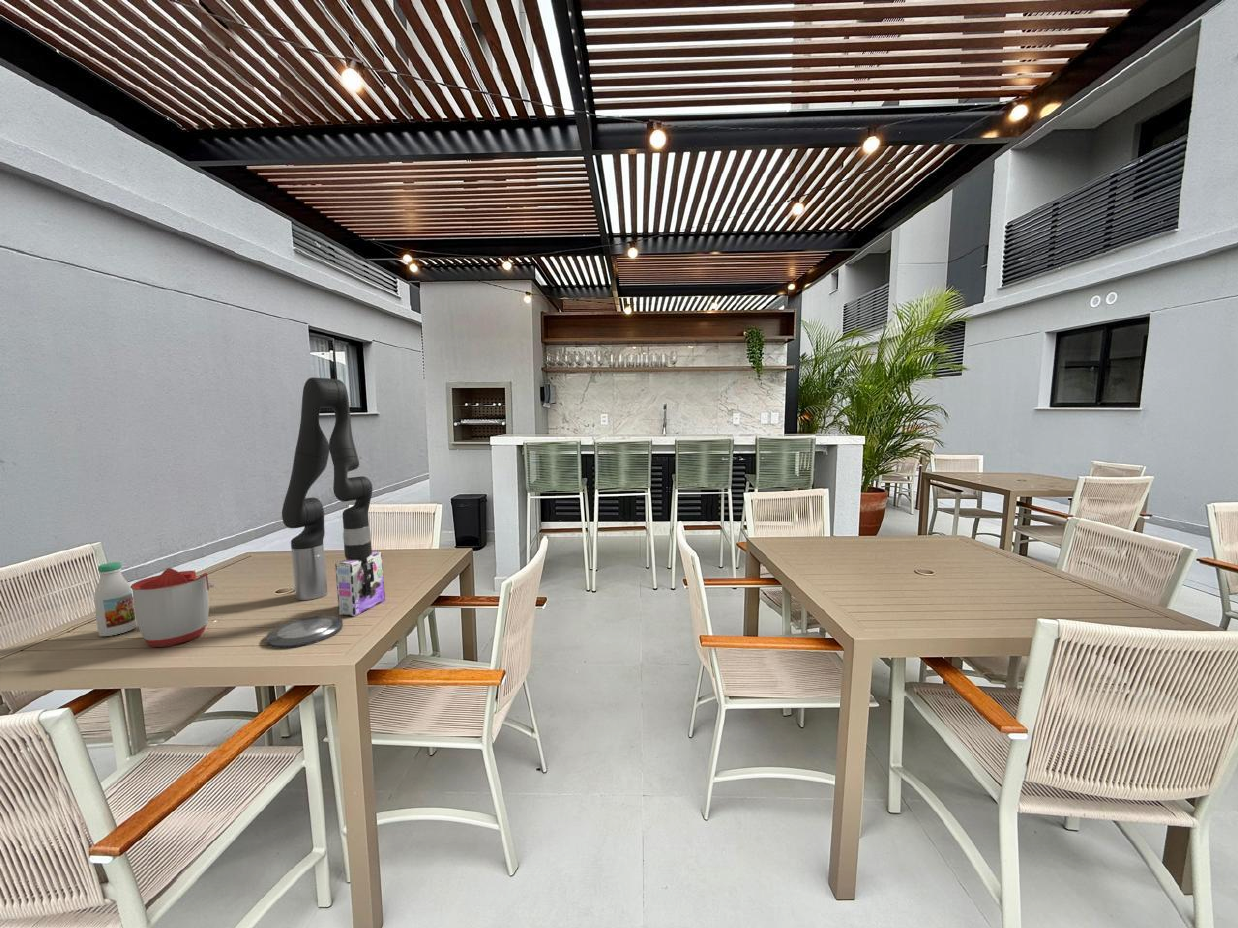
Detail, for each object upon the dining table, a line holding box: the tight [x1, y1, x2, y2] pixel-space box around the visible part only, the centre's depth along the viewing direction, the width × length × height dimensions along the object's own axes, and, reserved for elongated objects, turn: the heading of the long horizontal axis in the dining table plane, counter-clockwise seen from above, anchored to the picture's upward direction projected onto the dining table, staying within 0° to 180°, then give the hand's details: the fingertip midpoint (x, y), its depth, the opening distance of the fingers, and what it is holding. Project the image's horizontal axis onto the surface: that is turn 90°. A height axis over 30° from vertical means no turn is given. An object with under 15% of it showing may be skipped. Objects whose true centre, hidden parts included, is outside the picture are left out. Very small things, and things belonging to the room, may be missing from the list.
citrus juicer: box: [130, 567, 215, 648], centre depth 139 cm, size 16×17×20 cm
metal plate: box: [265, 615, 344, 649], centre depth 140 cm, size 18×18×2 cm
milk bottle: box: [93, 562, 137, 637], centre depth 143 cm, size 8×8×20 cm
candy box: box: [334, 551, 386, 617], centre depth 157 cm, size 14×6×16 cm, turn 166°
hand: (361, 592), depth 157 cm, fingers closed on candy box, 7 cm apart
